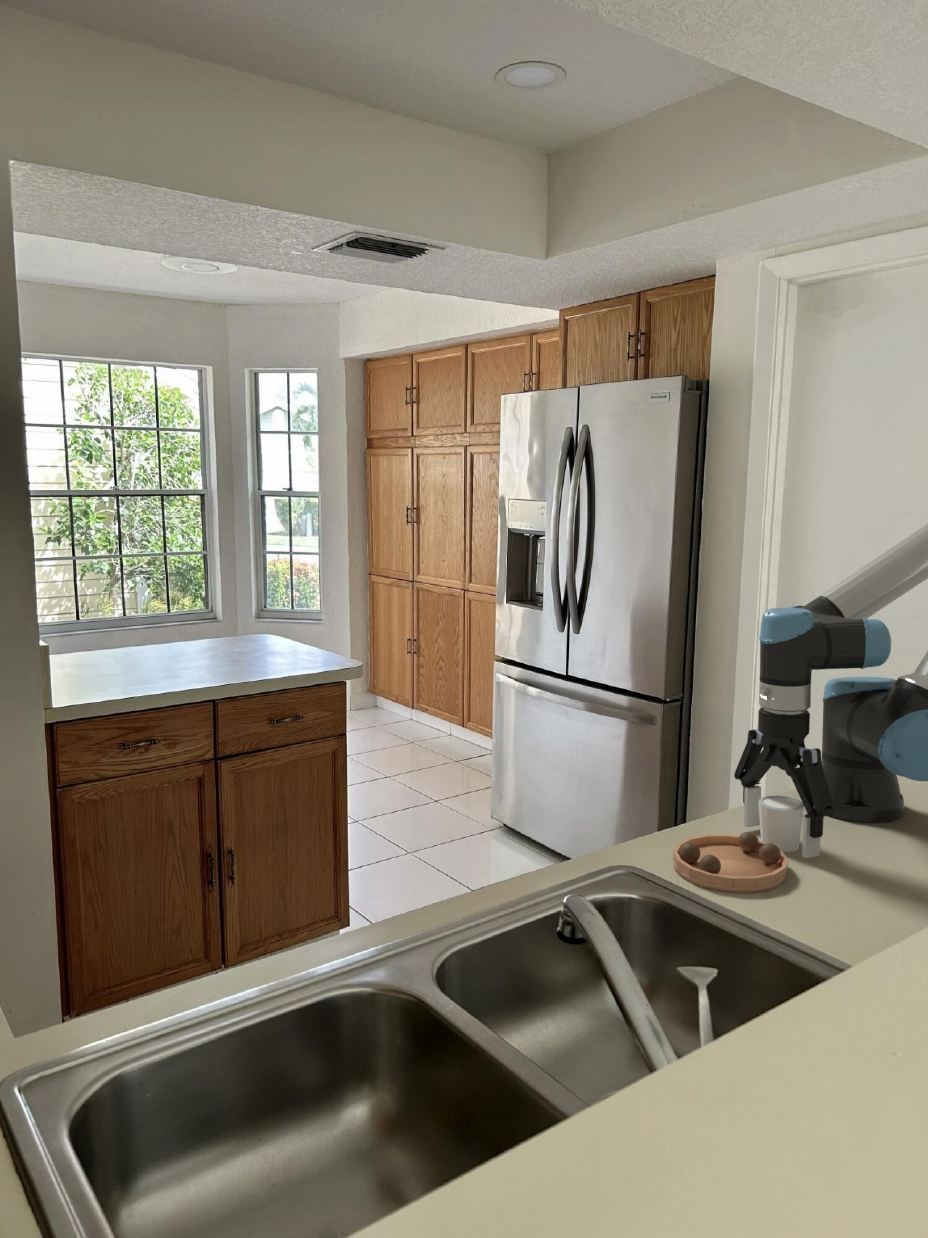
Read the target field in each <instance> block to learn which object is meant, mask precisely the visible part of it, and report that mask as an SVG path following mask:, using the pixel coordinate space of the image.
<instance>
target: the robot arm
mask: <svg viewBox="0 0 928 1238" xmlns="http://www.w3.org/2000/svg"><path fill="white" fill-rule="evenodd" d="M927 579H928V523H927V524H925V525H924V526H922V527H921V528H918V530H916V531H914V532H913V533H911V534H910V535H909V536H907V537H905V538H904V539H903V540H901V541H899V542H898V543H897V544H895V545H894V546H892V547H891V548H889V549H887V550H886V551H885V552H883V553H882V554H880V555H879V556H877V557H875V558H874V559H873V560H872V561H870V562H868V563H867V564H865V565H864V566H862V567H861V568H859V569H858V570H857V571H855V572H853V573H852V574H850V575H848V576H847V577H846V578H845V579H842V581H840V582H838V583H836V585H834V586H832V587H831V588H830V589H828V590H826V591H825V592H824V593H822V594H821V595H819V596H818V597H816V598H814V599H813V600H811V601H810V602H808V603H806V604H805V605H792V606H789V607H775V608H769V609H767V610H765V611H764V613H763V614H762V616H761V622H760V633H759V638H758V639H759V686H758V689H759V690H758V694H759V695H758V705H759V706H760V708H759V709H758V713H757V714H758V715H757V716H758V719H757V721H758V722H757V729H756V728H755V729H749V730H748V732H747V741H746V745H745V746H744V749H743V751H742V753H741V755H740V759H739V761H738V763H737V766H736V768H735V771H734V772H733V774H734V775H733V776H734V779H735V780H739V781H740V784H741V786H742V794H743V795H742V802H743V809H744V810H743V827H745V828H750V827H757V826H760V818H759V804H758V802H759V799H761V798H762V786H760V785H761V784H762V783H761V780H762V779H763V777H764V776H765V775H766V773H767V772H768V771H769V770H770V769H771V768H772V767H778V769H780V770H782V771H785V774H786V775H787V776H789V777H790V778H791V781H792V783H793V784H794V785H793V786H795V789H796V792H797V794H798V797H799V798H800V801H802V802H803V805H804V810H805V811H806V814H803V818H802V839H801V840H802V842H801V843H802V844H801V857H802V858H804V859H808V858H813V857H817V856H820V854H821V838H822V837H823V835H824V818H825V817H833V818H837V819H840V820H845V821H846V820H847V821H852V822H858V823H859V822H861V823H862V822H863V823H884V822H890V821H894V820H897V819H899V818H902V816H903V815H904V811H905V798H904V796H903V794H902V793H901V789H900V783H899V779H898V777H897V776H899V777H904V778H907V779H908V780H912V781H915V782H928V651H926V654H925V655H924V656H923V658H922V660H921V661H920V662H919V664H918V666H917V667H916V668H915V670H914V672H912V673H908V674H905V675H904V674H903V675H901V676H900V675H899V676H898V678H897V679H895V678H890V677H881V676H878V677H877V676H876V677H875V676H848V677H847V676H846V677H836V678H831V679H829V680H828V681H826V683H825V685H824V690H823V696H822V697H823V698H822V703H823V704H822V705H823V706H822V707H823V708H822V735H821V736H822V737H821V744H822V745H821V749H820V748H819V747H818V748H817V747H816V748H807V747H806V745H805V739H806V738H807V736H808V735H809V734H810V727H811V726H810V721H811V720H810V719H811V713H810V712H809V709H811V706H812V705H811V701H812V699H811V697H812V694H811V693H812V691H811V690H812V674H813V670H815V671H818V670H819V671H820V670H838V669H839V670H842V669H845V670H846V669H861V670H864V669H866V668H867V669H868V668H876V667H880V666H882V665H884V664H886V662H887V661H888V659H889V658H890V655H891V651H892V639H891V638H892V637H891V633H890V631H889V628H888V626H887V625H886V624H885V623H884V622H883V621H882V620H880V619H876V618H874V619H873V618H870V617H872V616H873V615H874V614H877V612H879V611H880V610H882V609H884V608H885V607H888V605H889V604H891V603H893V602H894V601H896V600H897V599H899V598H900V597H902V596H903V595H905V594H906V593H908V592H909V591H910V590H912V589H914V588H916V587H917V586H918V585H920V584H922V583H923V582H925V581H926V580H927Z"/></svg>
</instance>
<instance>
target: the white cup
mask: <svg viewBox="0 0 928 1238" xmlns="http://www.w3.org/2000/svg"><path fill="white" fill-rule="evenodd" d="M758 804H759V818H760V825H759V830H760V841H762V842H765V843H772V844H775V845H776V846H777V847H778V848H779V850H781V851H782V852H783V853H789V852H790V853H791V852H795V851H797V850H799V848H800V847H799V846H800V840H801V831H802V827H803V815H804V811H805V807H804V805H803V802H802V800H801V799H797V798H794V797H790V796H784V795H767V796H763V797H761V799H759V802H758Z"/></svg>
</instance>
